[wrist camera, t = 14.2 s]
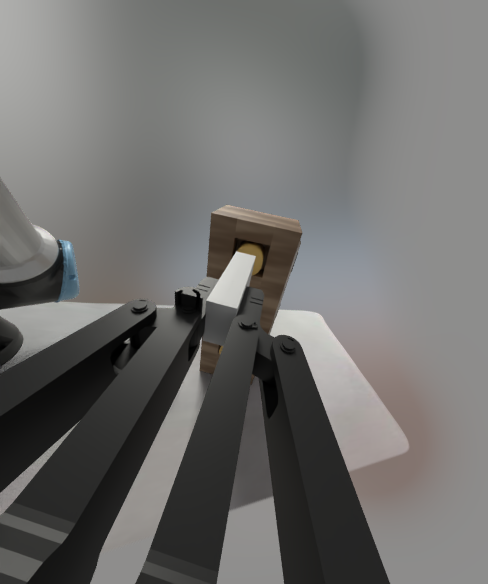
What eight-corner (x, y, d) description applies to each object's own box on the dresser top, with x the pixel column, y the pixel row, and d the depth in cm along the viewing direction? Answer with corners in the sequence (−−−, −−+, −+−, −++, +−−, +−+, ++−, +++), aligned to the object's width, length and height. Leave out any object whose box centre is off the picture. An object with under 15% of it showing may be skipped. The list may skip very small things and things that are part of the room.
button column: (254, 385, 43) (307, 234, 24) (199, 370, 43) (211, 212, 25) (258, 356, 49) (302, 221, 31) (211, 344, 50) (226, 204, 32)
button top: (258, 278, 27) (264, 252, 25) (231, 272, 27) (235, 245, 25) (261, 267, 30) (267, 243, 28) (236, 261, 31) (241, 237, 28)
